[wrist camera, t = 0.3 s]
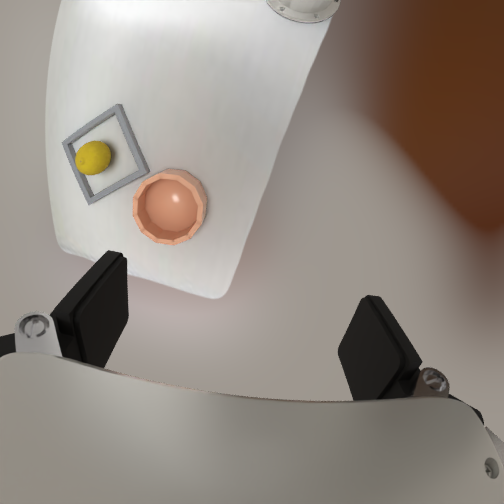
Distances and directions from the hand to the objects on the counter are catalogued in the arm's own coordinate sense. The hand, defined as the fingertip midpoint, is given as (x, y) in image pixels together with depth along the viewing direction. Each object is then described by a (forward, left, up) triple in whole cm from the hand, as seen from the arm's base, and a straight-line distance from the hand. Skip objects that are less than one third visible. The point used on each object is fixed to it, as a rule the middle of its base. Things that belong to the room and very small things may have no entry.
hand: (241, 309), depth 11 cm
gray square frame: (-12, -21, -36) cm, 44 cm away
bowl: (+1, -13, -36) cm, 39 cm away
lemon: (-12, -21, -37) cm, 44 cm away
